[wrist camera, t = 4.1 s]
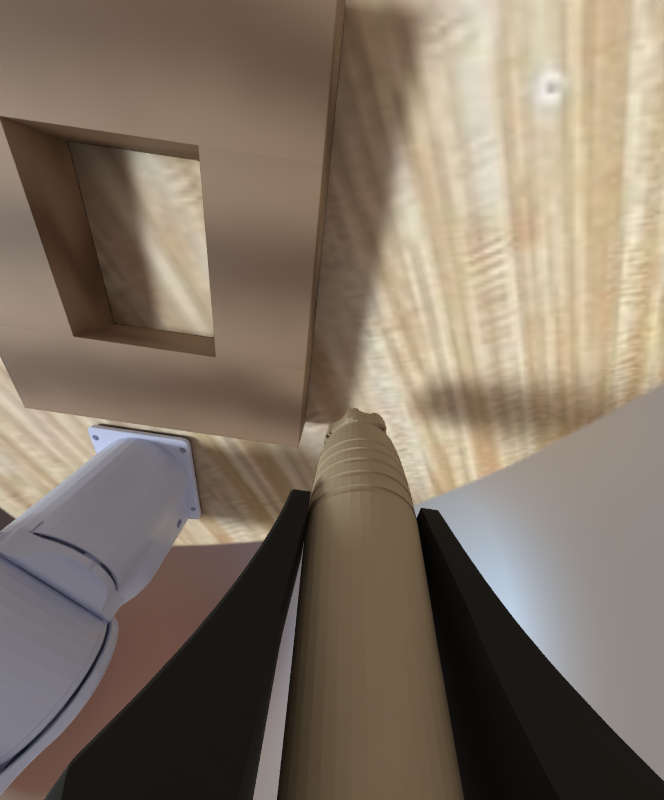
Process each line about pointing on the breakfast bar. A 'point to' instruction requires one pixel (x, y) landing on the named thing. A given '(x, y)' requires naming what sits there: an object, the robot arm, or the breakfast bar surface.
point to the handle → (365, 637)
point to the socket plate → (222, 200)
